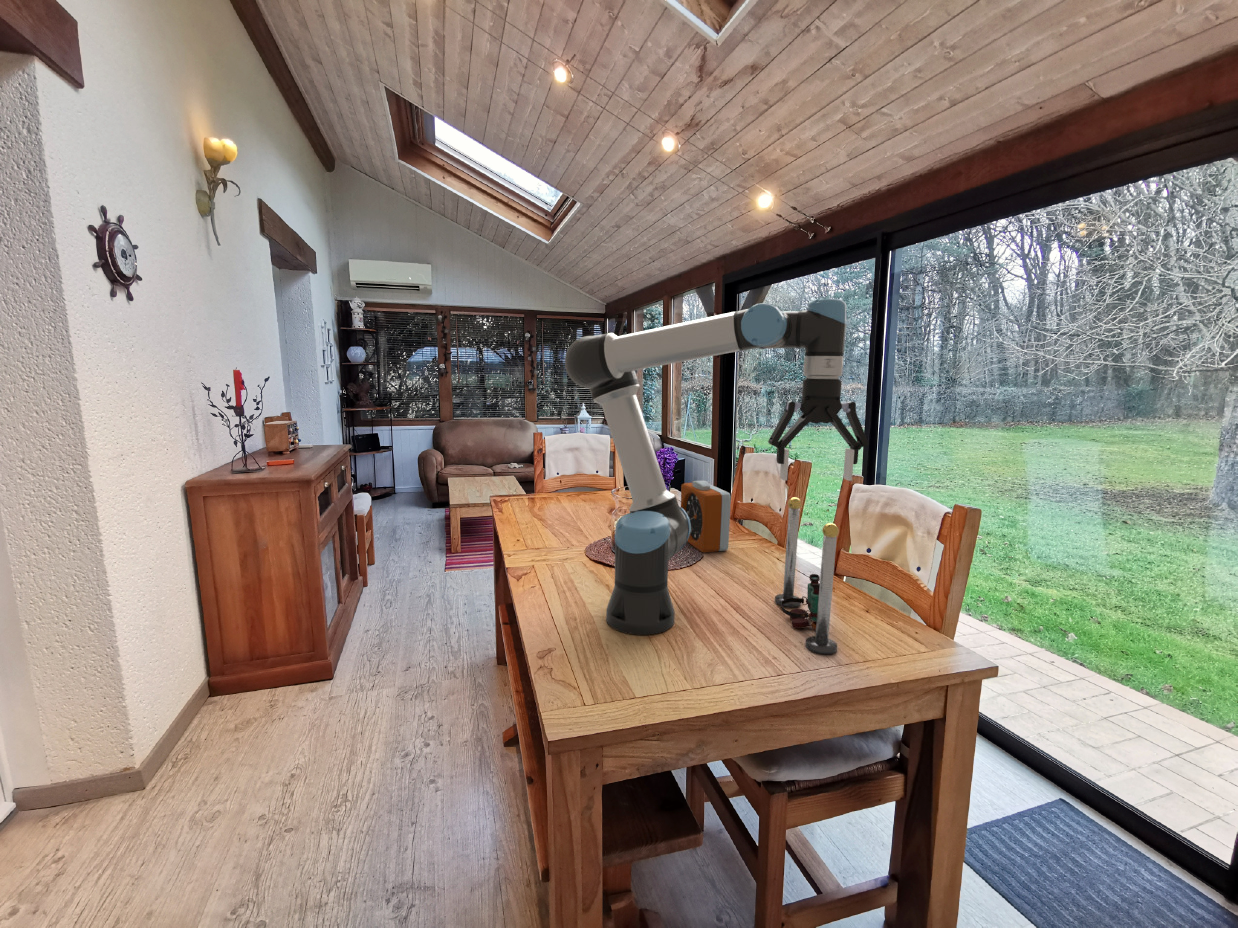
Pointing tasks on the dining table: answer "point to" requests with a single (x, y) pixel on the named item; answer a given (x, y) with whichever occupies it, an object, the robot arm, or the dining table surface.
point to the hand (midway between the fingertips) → (815, 479)
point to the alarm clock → (707, 515)
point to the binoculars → (811, 600)
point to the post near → (825, 595)
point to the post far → (790, 555)
